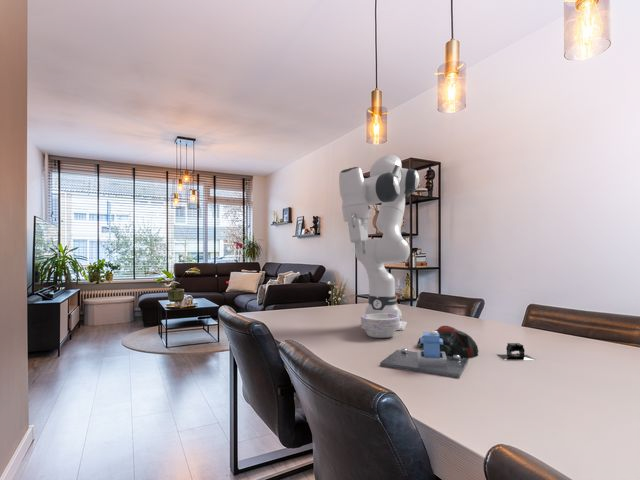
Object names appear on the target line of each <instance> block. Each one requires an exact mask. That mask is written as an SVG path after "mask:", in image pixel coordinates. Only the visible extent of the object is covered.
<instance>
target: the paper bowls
mask: <svg viewBox="0 0 640 480" xmlns="http://www.w3.org/2000/svg"><path fill="white" fill-rule="evenodd" d="M360 325H361V326H360V328H361V329H362V330H363V331H365V333H366V335H367V336H368V337H370V338H376V339H389V338H392V337H393V336H394V335H395V333H396V331H399V330H398V329H400V317H399V316H398V315H395V314H387V313H374V314H366V315H365V314H363V315H361V316H360Z"/></svg>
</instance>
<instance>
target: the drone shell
mask: <svg viewBox="0 0 640 480" xmlns="http://www.w3.org/2000/svg"><path fill="white" fill-rule="evenodd" d="M433 331H438V333H439V338H441V339H443V344H440V352H445V354H446V356H451V357H453V355H460V358H467V359H473V358H476V357H478V356H479V348H478V345H477V343H476V341H475V340H474V339H473V338H472V336H471V335H469V334H467V333H466V332H464V331H462V330H458V329H456V328H455V327H452V326H449V325H440V327H438V328H437V329H435V330H433ZM421 338H423V336H421ZM417 343H418V346H419V347H420V348H422V349H424V343H420V337H419V338H418V341H417Z"/></svg>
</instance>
